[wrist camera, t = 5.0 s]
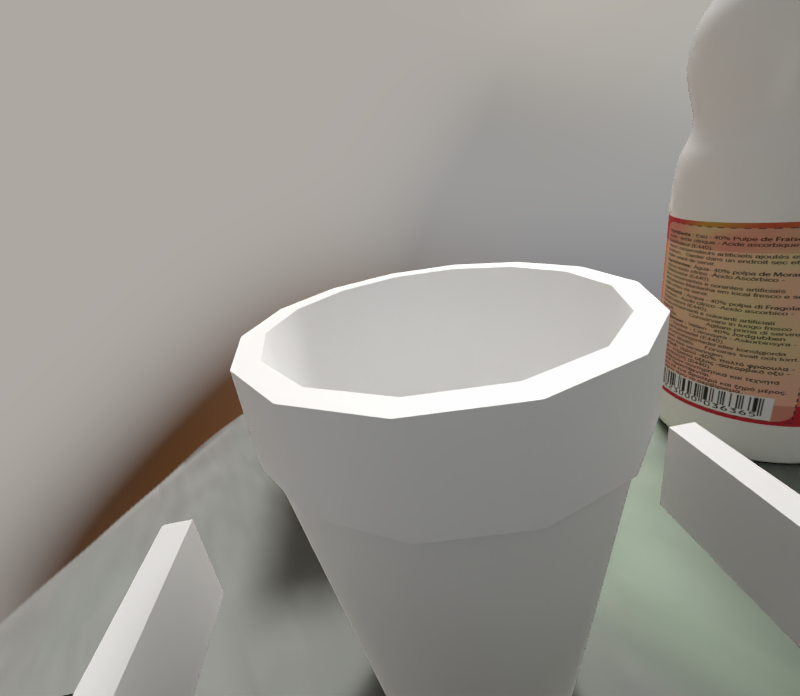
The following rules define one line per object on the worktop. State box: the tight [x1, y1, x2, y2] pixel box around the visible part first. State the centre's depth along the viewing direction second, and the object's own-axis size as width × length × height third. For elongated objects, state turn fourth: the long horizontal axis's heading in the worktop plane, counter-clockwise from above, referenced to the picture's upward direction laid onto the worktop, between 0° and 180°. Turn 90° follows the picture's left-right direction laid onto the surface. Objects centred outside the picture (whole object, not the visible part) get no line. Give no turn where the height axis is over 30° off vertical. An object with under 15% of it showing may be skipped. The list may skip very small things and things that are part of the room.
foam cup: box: [230, 262, 670, 696], centre depth 13 cm, size 10×9×13 cm
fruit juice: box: [659, 0, 800, 463], centre depth 20 cm, size 9×9×28 cm
